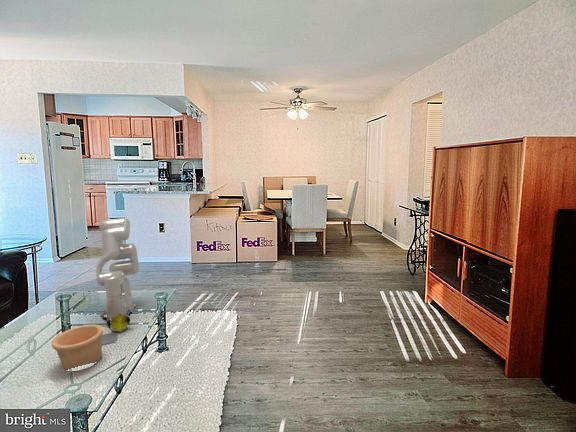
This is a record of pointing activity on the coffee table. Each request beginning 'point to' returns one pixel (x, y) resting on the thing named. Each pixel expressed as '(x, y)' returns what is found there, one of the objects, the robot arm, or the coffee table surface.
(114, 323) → the supplement box
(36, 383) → the coffee table surface
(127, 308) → the robot arm
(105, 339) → the mat
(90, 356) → the pottery
